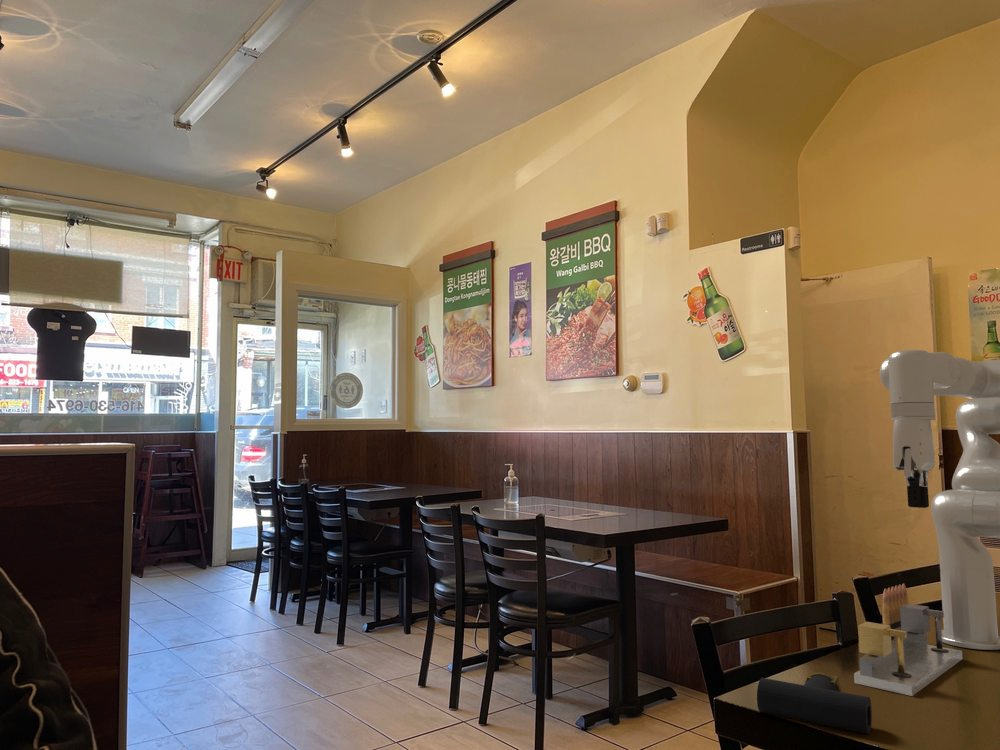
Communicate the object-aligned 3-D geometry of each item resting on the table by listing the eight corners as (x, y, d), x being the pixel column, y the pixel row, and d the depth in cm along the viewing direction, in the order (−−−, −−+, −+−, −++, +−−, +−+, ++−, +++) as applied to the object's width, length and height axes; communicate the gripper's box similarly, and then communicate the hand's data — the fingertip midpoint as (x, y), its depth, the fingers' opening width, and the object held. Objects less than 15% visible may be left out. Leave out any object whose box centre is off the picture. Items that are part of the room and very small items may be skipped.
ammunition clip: (891, 650, 142) (888, 589, 144) (882, 648, 144) (878, 588, 145) (913, 641, 149) (910, 583, 150) (904, 639, 150) (900, 582, 152)
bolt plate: (910, 649, 143) (909, 627, 143) (962, 659, 136) (961, 635, 137) (854, 683, 122) (853, 656, 123) (912, 696, 116) (910, 668, 116)
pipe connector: (775, 661, 118) (877, 678, 109) (777, 695, 117) (879, 714, 108) (756, 681, 108) (865, 701, 100) (757, 717, 108) (867, 741, 99)
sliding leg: (868, 662, 127) (866, 621, 128) (911, 671, 122) (909, 628, 123) (860, 667, 124) (858, 625, 125) (903, 676, 119) (901, 632, 120)
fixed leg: (908, 640, 142) (906, 603, 143) (948, 647, 137) (946, 609, 138) (902, 644, 140) (899, 606, 140) (942, 651, 135) (940, 612, 135)
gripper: (904, 415, 147) (909, 504, 145) (878, 412, 137) (884, 508, 135) (945, 413, 142) (951, 506, 140) (922, 410, 132) (928, 510, 130)
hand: (918, 507), depth 138 cm, fingers closed
